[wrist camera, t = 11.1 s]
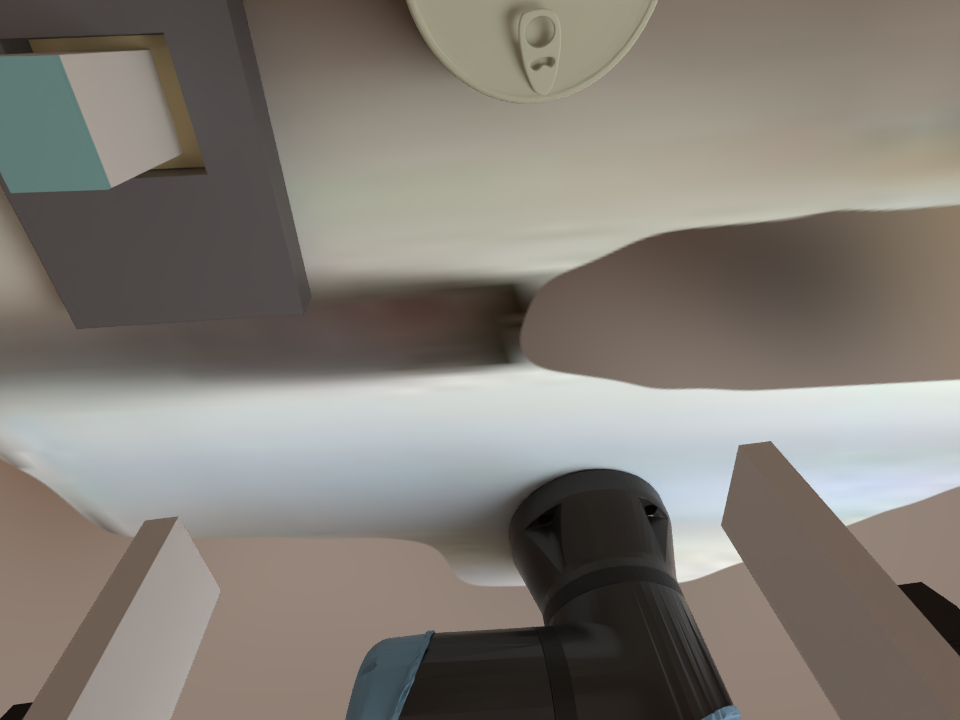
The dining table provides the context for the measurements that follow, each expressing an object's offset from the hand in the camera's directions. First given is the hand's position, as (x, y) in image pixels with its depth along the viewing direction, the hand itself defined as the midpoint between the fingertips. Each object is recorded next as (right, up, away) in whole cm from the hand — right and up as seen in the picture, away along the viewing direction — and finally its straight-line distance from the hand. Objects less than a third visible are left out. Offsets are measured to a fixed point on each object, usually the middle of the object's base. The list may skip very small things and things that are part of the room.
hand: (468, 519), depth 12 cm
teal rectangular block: (-19, +18, +15) cm, 30 cm away
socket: (-18, +16, +17) cm, 30 cm away
